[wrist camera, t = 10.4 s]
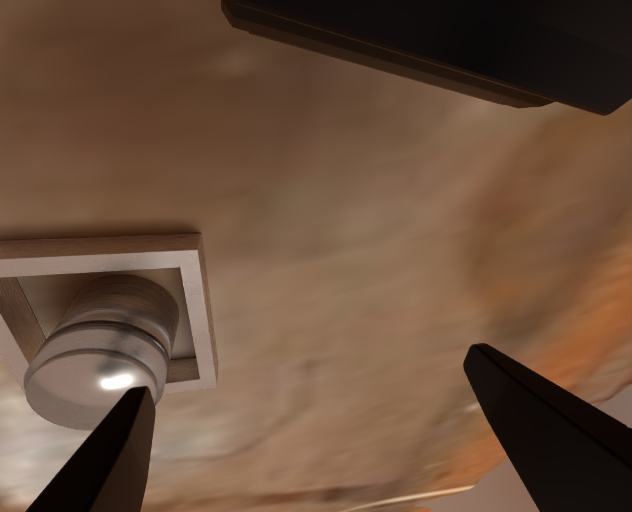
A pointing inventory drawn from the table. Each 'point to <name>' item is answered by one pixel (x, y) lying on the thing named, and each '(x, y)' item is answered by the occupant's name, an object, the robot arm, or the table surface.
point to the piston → (103, 351)
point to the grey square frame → (98, 256)
